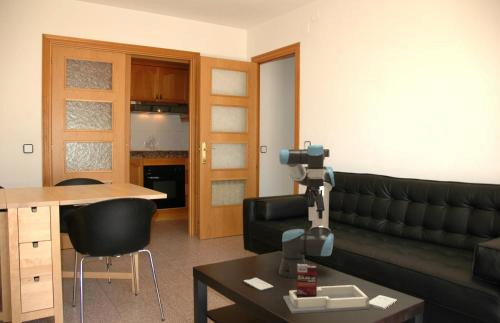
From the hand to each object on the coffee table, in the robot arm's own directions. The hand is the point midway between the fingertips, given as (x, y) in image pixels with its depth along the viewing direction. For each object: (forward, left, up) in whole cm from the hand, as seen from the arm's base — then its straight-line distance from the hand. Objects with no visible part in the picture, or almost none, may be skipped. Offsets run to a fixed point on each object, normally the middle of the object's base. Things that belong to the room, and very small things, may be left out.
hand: (315, 223), depth 188 cm
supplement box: (+17, -9, -31) cm, 36 cm away
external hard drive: (+20, +23, -32) cm, 45 cm away
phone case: (-9, -26, -32) cm, 43 cm away
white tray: (+17, -2, -32) cm, 36 cm away
